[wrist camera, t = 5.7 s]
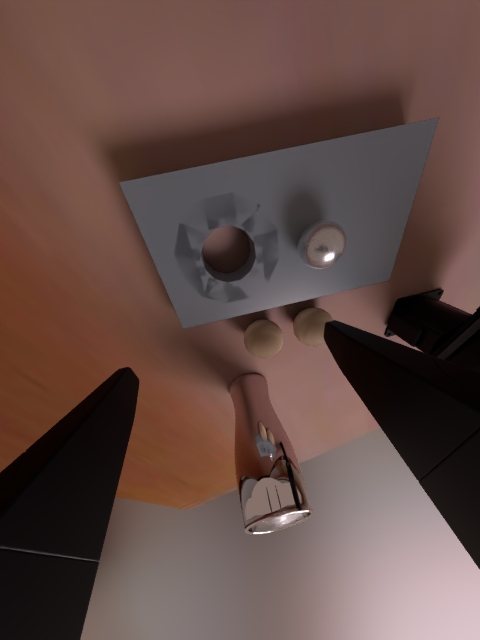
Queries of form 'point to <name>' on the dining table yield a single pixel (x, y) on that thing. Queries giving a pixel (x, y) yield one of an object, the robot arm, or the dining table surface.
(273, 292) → the plate
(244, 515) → the beer glass
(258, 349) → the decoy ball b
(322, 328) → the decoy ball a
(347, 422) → the dining table surface
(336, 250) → the steel ball
